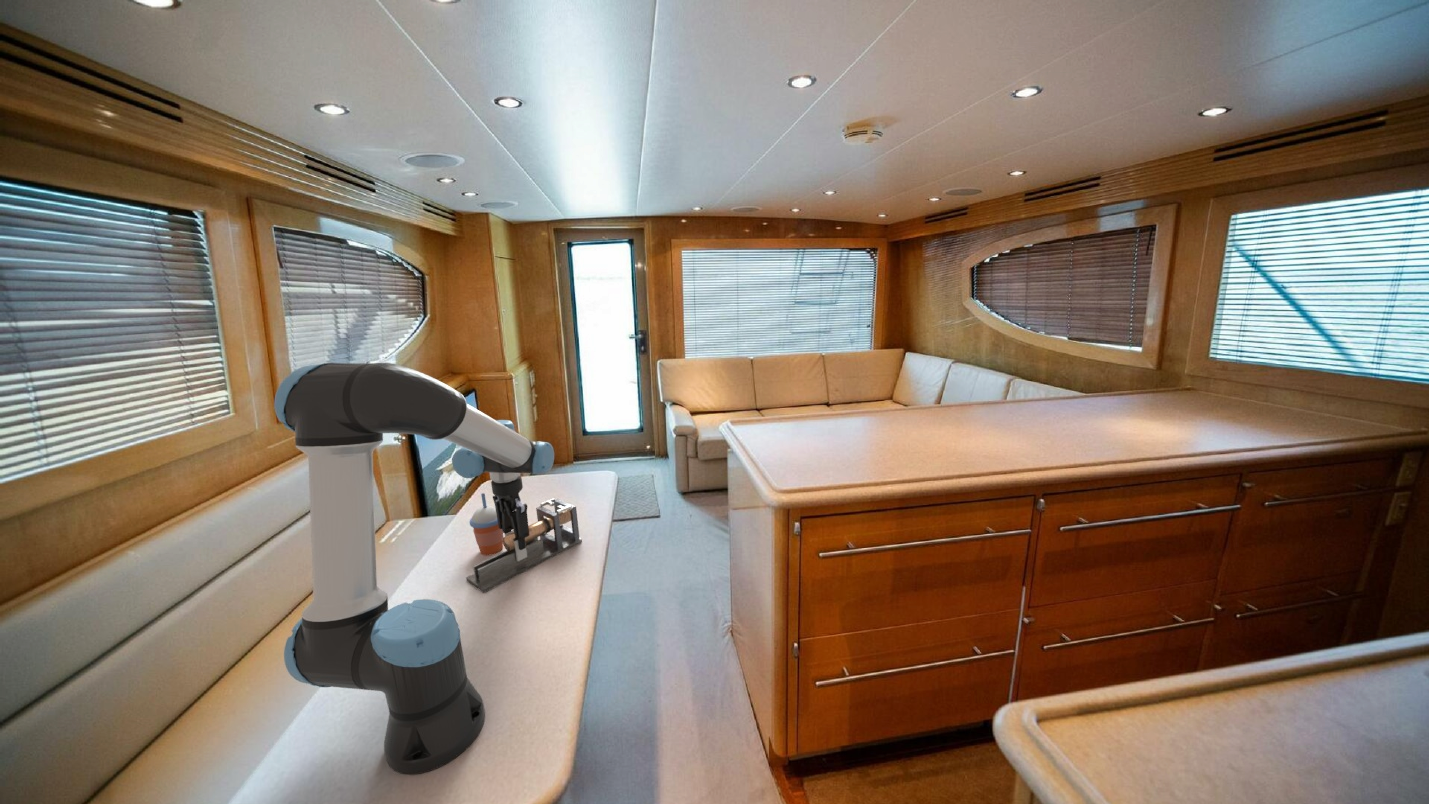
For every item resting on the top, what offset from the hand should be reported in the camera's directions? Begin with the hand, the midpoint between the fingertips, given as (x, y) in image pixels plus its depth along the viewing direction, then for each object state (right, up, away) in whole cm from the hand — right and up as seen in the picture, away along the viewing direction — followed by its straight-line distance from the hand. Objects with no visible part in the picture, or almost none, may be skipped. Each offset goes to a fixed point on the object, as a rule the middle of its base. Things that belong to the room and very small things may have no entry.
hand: (517, 555), depth 135 cm
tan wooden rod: (+4, +6, +5) cm, 9 cm away
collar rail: (+2, -2, +3) cm, 4 cm away
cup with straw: (-11, -1, +9) cm, 14 cm away
